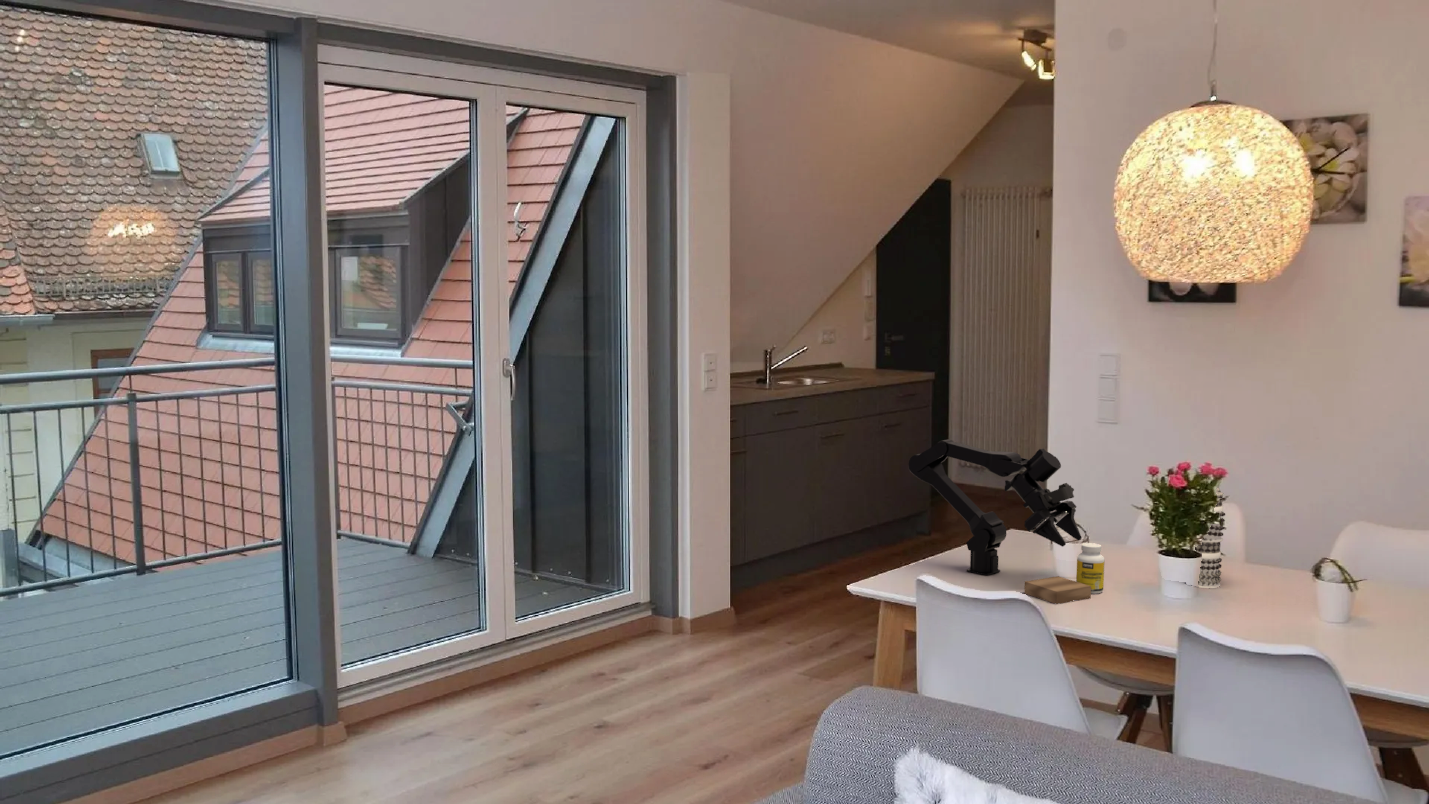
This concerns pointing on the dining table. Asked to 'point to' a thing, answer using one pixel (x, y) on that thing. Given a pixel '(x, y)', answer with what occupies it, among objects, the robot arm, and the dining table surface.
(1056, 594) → the walnut plinth
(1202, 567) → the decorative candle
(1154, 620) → the dining table surface
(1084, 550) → the pill bottle
